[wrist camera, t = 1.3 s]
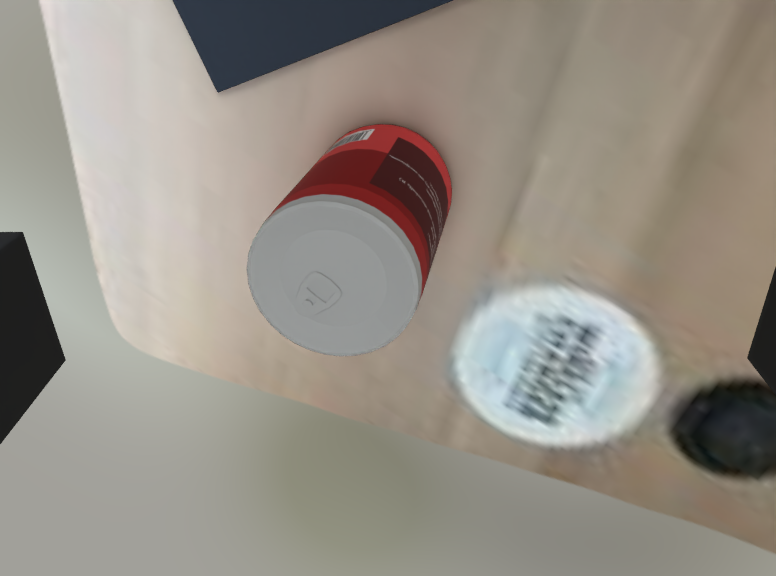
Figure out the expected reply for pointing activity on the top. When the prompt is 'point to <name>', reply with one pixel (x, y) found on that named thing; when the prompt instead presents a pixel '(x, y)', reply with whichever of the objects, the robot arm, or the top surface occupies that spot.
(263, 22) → the felt mat
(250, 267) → the canned food
